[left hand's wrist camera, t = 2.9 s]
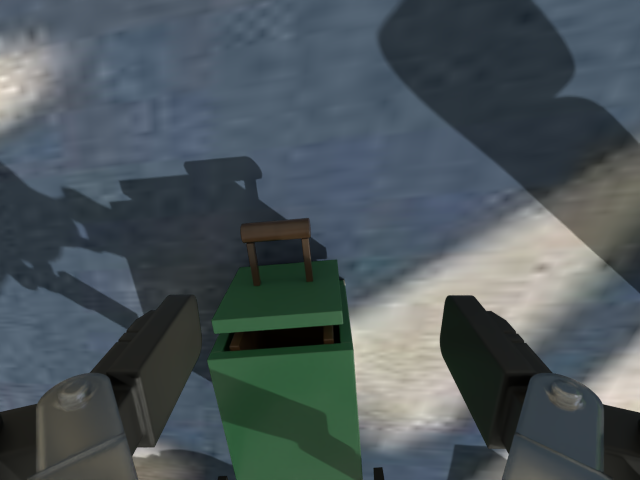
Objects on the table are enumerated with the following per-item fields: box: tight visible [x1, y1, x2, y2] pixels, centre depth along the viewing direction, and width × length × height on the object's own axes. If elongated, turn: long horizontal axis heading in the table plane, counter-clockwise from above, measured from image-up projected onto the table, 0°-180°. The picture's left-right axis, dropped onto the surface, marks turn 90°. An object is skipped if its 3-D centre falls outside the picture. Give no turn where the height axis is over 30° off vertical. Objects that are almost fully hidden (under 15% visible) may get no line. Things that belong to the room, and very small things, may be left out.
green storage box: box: [207, 280, 363, 480], centre depth 35 cm, size 17×11×12 cm, turn 5°
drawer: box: [211, 218, 343, 351], centre depth 32 cm, size 22×10×10 cm, turn 5°
